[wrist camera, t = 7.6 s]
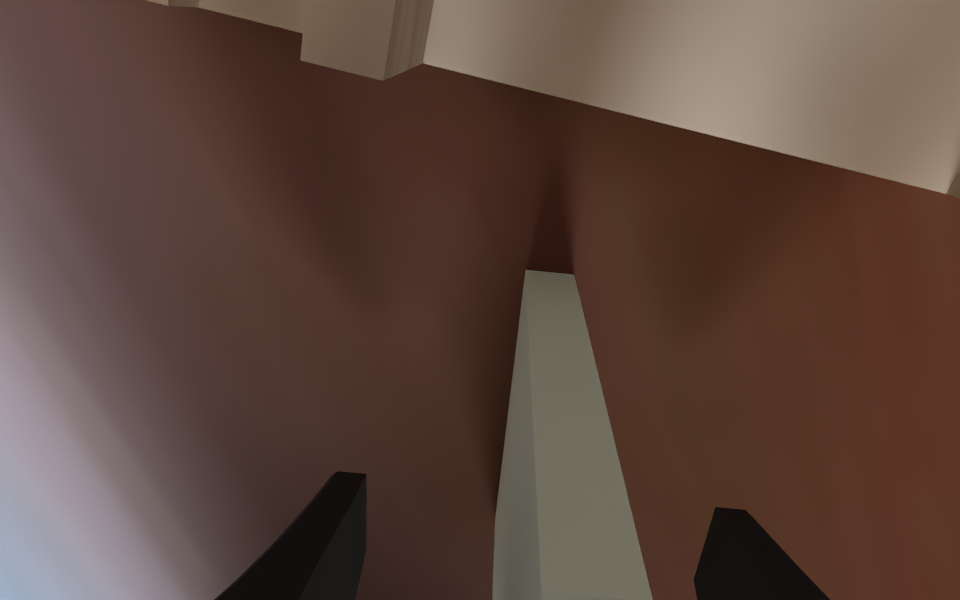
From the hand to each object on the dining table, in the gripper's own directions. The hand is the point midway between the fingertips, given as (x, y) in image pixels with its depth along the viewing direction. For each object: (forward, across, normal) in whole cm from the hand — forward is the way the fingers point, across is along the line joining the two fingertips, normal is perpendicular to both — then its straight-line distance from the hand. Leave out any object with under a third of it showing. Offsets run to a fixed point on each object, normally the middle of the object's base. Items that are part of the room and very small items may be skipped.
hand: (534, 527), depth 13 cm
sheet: (+4, 0, 0) cm, 4 cm away
